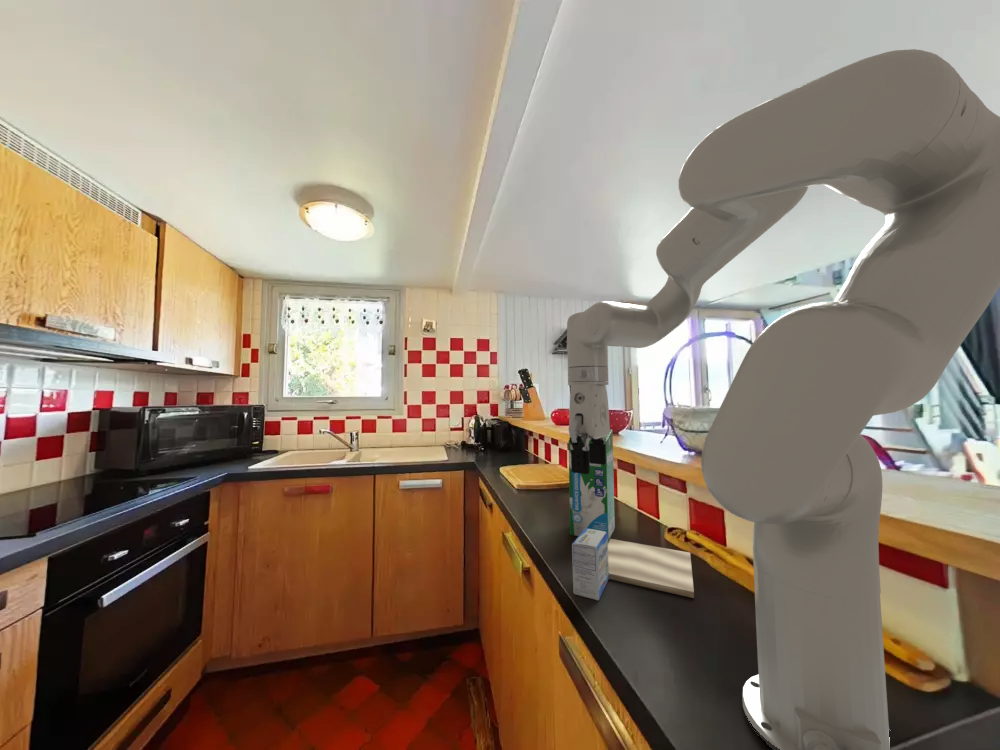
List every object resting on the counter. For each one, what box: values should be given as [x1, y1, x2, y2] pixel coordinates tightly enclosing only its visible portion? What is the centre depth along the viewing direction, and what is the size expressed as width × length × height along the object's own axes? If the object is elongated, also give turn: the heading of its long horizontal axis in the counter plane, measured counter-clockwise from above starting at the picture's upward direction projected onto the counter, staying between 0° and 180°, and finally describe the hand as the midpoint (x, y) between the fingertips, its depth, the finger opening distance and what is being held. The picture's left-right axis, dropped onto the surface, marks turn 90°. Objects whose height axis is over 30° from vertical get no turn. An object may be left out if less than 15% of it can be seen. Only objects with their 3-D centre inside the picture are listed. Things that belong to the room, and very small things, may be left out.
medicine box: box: [571, 529, 610, 601], centre depth 61 cm, size 8×4×9 cm, turn 151°
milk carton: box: [568, 429, 616, 542], centre depth 86 cm, size 9×9×25 cm
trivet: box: [608, 538, 695, 599], centre depth 68 cm, size 16×16×1 cm
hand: (589, 468), depth 65 cm, fingers open, 9 cm apart
